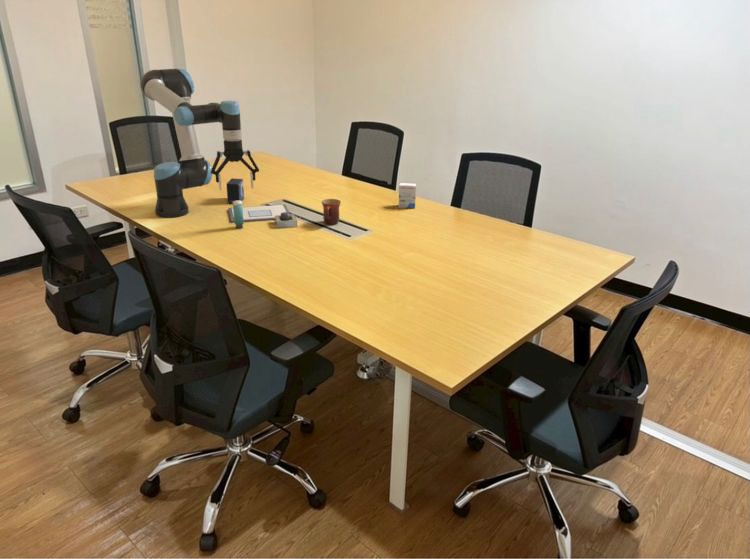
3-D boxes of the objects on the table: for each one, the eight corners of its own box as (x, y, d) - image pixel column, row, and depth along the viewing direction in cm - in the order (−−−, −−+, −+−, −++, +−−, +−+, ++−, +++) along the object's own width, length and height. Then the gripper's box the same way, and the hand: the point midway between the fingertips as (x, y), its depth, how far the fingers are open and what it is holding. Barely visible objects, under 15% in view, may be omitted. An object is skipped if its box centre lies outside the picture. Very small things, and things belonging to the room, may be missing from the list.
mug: (324, 218, 269) (324, 198, 265) (342, 220, 268) (342, 199, 263) (317, 227, 258) (317, 205, 254) (336, 229, 257) (336, 207, 253)
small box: (240, 204, 286) (238, 184, 282) (227, 203, 286) (225, 183, 282) (245, 198, 296) (243, 178, 291) (232, 197, 296) (230, 178, 291)
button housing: (277, 228, 256) (277, 221, 254) (274, 221, 264) (274, 215, 262) (297, 226, 258) (297, 220, 257) (294, 220, 266) (293, 214, 265)
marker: (235, 229, 253) (233, 203, 248) (234, 226, 256) (232, 200, 251) (244, 228, 254) (242, 202, 249) (243, 225, 257) (241, 200, 252)
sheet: (231, 223, 260) (231, 220, 260) (228, 209, 277) (228, 207, 277) (292, 218, 268) (292, 216, 268) (285, 206, 285) (285, 203, 285)
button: (281, 222, 258) (281, 215, 256) (280, 219, 261) (280, 212, 260) (291, 221, 259) (291, 215, 257) (289, 218, 263) (289, 212, 261)
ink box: (415, 205, 292) (416, 183, 287) (414, 208, 287) (416, 186, 282) (398, 204, 293) (399, 182, 288) (398, 207, 288) (399, 185, 283)
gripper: (202, 142, 232) (207, 192, 241) (263, 140, 239) (266, 189, 248) (201, 138, 238) (206, 187, 247) (261, 136, 245) (264, 184, 254)
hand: (236, 188), depth 247 cm, fingers open, 13 cm apart
